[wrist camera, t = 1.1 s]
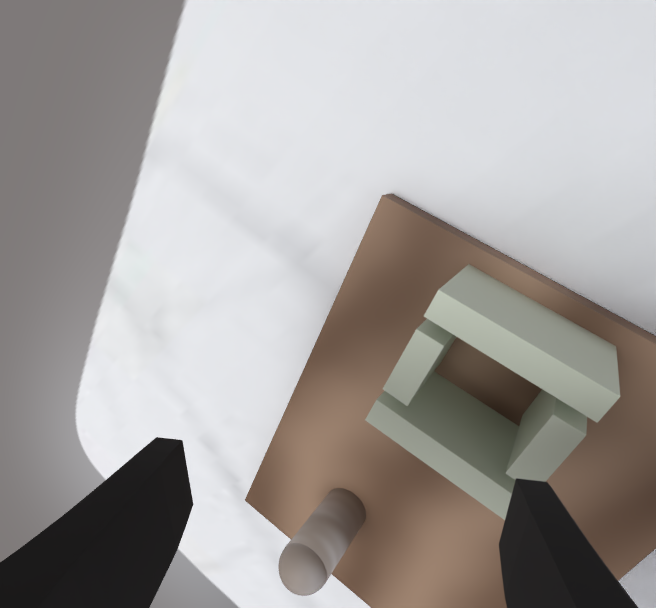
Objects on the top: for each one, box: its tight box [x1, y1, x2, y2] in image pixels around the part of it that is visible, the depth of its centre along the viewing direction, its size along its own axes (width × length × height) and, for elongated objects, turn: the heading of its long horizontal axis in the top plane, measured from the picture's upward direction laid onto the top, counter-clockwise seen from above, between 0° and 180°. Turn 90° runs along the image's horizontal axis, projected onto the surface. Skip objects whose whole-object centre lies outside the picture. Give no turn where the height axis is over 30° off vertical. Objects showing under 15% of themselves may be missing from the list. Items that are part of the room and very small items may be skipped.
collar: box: [365, 264, 620, 520], centre depth 17 cm, size 6×6×4 cm
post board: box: [245, 194, 656, 608], centre depth 19 cm, size 15×19×6 cm
